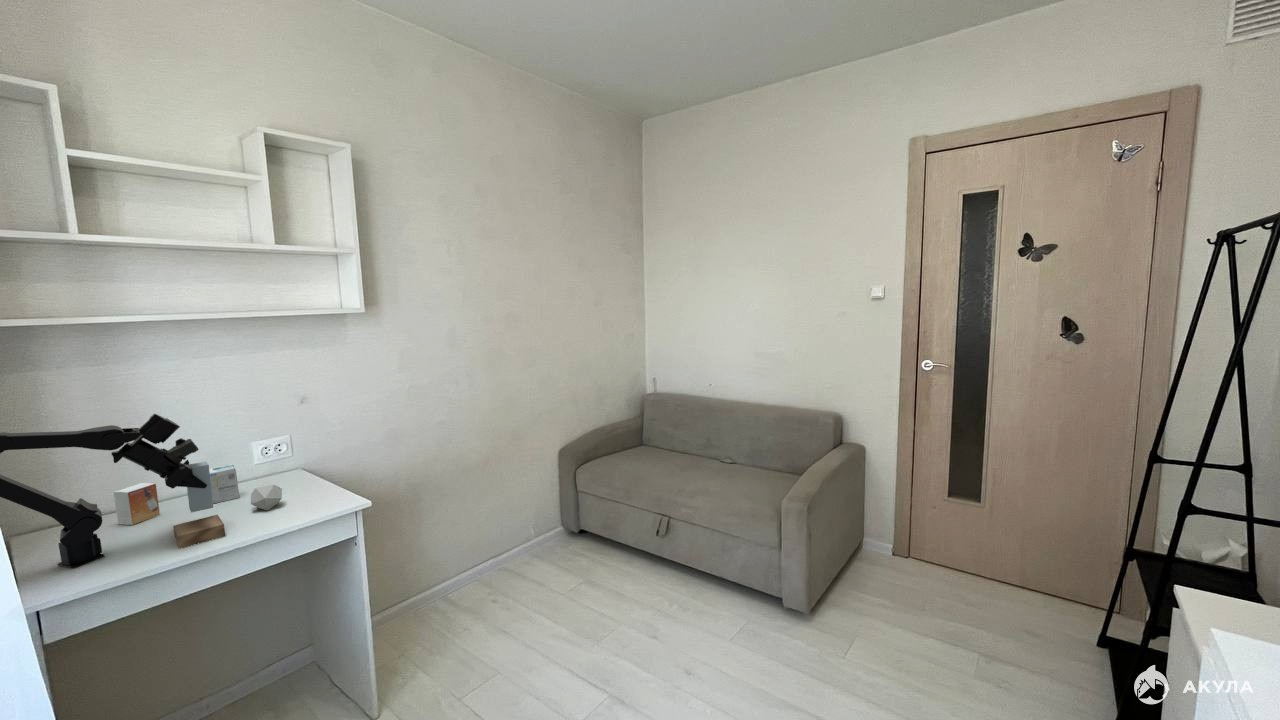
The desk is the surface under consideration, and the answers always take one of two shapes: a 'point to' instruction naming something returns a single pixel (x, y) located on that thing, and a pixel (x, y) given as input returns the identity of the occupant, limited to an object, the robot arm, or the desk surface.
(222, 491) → the light bulb box
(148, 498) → the small box
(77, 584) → the desk surface
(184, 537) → the walnut base block
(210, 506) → the slate block
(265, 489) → the die
